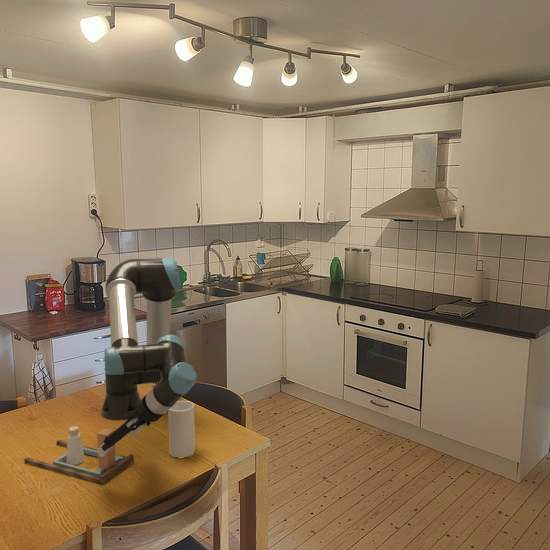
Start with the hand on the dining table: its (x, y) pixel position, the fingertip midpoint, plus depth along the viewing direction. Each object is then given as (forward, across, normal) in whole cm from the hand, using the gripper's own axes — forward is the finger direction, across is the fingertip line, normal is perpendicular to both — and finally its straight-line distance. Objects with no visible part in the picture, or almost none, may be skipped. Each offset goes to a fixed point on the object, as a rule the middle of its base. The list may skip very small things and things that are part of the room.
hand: (115, 443), depth 152 cm
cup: (-1, -18, +14) cm, 23 cm away
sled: (+14, 0, -1) cm, 14 cm away
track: (+17, 0, -4) cm, 17 cm away
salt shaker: (+18, 0, -5) cm, 19 cm away
